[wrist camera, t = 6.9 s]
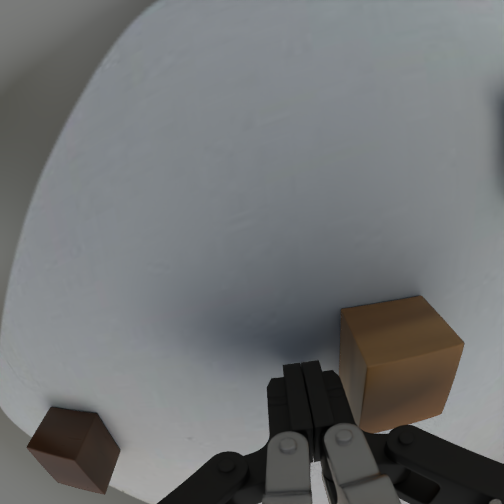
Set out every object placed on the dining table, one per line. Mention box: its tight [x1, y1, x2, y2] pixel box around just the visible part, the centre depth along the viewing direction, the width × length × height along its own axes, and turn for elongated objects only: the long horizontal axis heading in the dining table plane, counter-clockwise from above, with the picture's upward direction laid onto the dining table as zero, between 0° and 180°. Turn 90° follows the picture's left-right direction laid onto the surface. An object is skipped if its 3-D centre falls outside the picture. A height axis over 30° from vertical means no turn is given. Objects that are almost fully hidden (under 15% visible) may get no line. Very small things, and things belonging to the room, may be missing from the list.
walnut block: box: [27, 407, 120, 494], centre depth 15 cm, size 4×4×4 cm
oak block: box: [339, 296, 464, 433], centre depth 12 cm, size 4×4×4 cm
